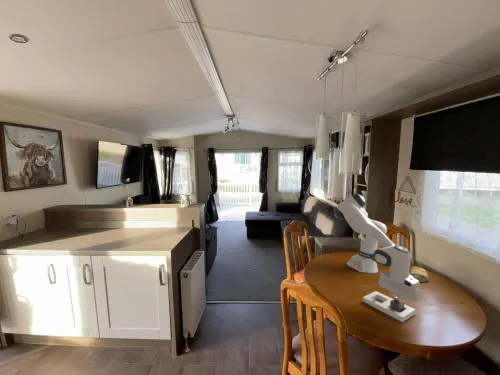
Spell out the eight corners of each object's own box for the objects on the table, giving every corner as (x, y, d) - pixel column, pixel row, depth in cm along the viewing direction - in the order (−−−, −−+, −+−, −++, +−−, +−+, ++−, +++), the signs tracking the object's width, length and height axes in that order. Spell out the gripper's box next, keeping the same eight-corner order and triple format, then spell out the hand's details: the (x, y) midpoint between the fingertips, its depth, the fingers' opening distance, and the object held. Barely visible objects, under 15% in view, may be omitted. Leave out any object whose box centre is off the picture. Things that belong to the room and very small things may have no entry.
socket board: (362, 301, 142) (363, 296, 142) (375, 295, 149) (375, 290, 148) (402, 323, 123) (402, 316, 123) (415, 314, 130) (415, 308, 130)
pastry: (418, 273, 179) (418, 263, 178) (434, 281, 167) (435, 270, 166) (402, 275, 176) (402, 265, 175) (417, 283, 164) (417, 272, 163)
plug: (389, 311, 132) (390, 300, 132) (395, 308, 135) (396, 297, 134) (398, 315, 128) (399, 305, 128) (403, 312, 131) (404, 301, 131)
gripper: (377, 270, 137) (375, 293, 138) (417, 286, 120) (414, 312, 121) (383, 268, 140) (381, 290, 142) (423, 283, 123) (421, 308, 124)
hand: (397, 301), depth 131 cm, fingers closed
